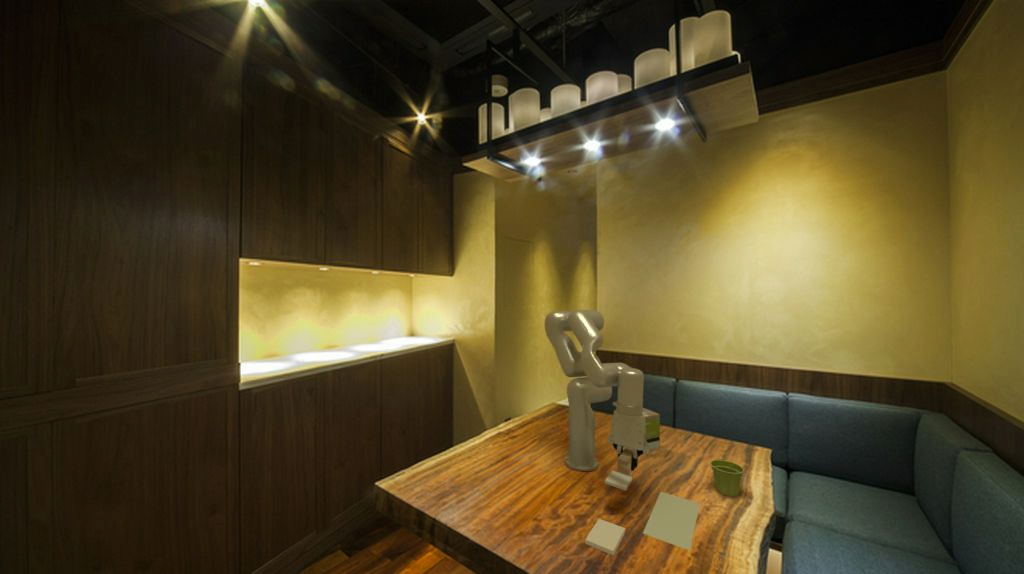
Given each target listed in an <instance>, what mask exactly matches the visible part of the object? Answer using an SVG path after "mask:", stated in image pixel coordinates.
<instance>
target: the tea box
mask: <svg viewBox="0 0 1024 574" xmlns="http://www.w3.org/2000/svg"><path fill="white" fill-rule="evenodd" d="M642 414H644V416H645V423H646V441H647V443H648V445H649V447H650V450H651V451H650V452H653V451H656V450H659V449H661V447H660V442H661V441H660V439H661V435H660V434H661V414H659V413H658V412H655V411H653V410H651V409H647V408H644V407H643V409H642Z"/></svg>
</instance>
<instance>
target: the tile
mask: <svg viewBox="0 0 1024 574" xmlns="http://www.w3.org/2000/svg"><path fill="white" fill-rule="evenodd" d="M625 534H626V528H625V527H623V526H620V525H617V524H616V523H615V524H614V523H612V522H609V521H607V520H604V519H601V518H598V520H597V521H596V522H595V524H594V525H593V527H592V529H590V532H589V534H588V535H587V536H586V538H585V539H584V542H585V545H587V546H590V547H593V548H594V549H597V550H598V551H601V552H605V554H609V555H610V556H614V555H615V553H616V552H617V549H618V548H619V546H620V544H621V542H622V539H623V537H624V536H625Z"/></svg>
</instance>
